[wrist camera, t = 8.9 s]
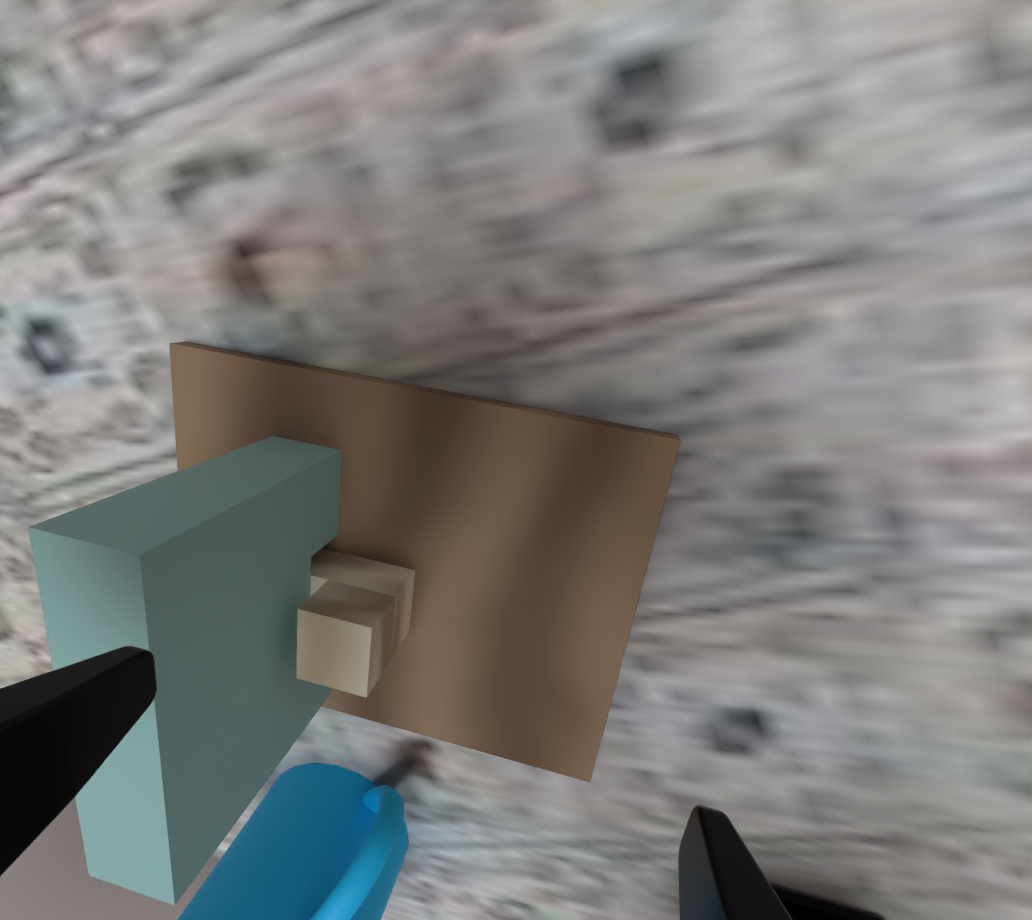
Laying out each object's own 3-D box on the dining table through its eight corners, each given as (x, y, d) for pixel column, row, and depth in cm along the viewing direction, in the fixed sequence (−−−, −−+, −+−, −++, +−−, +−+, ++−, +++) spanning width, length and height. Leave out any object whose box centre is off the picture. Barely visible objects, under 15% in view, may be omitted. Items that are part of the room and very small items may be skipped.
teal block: (341, 450, 20) (139, 555, 11) (332, 691, 24) (174, 905, 15) (272, 435, 20) (27, 527, 12) (273, 675, 24) (88, 875, 16)
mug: (353, 897, 29) (260, 1109, 21) (245, 808, 29) (110, 992, 21) (484, 803, 25) (428, 1021, 17) (361, 697, 25) (246, 874, 17)
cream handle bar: (415, 570, 21) (371, 627, 17) (409, 630, 22) (366, 697, 18) (200, 518, 22) (116, 561, 18) (203, 577, 23) (123, 630, 19)
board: (677, 435, 18) (680, 440, 17) (590, 766, 23) (589, 782, 22) (185, 342, 21) (169, 343, 20) (202, 658, 26) (190, 669, 25)
